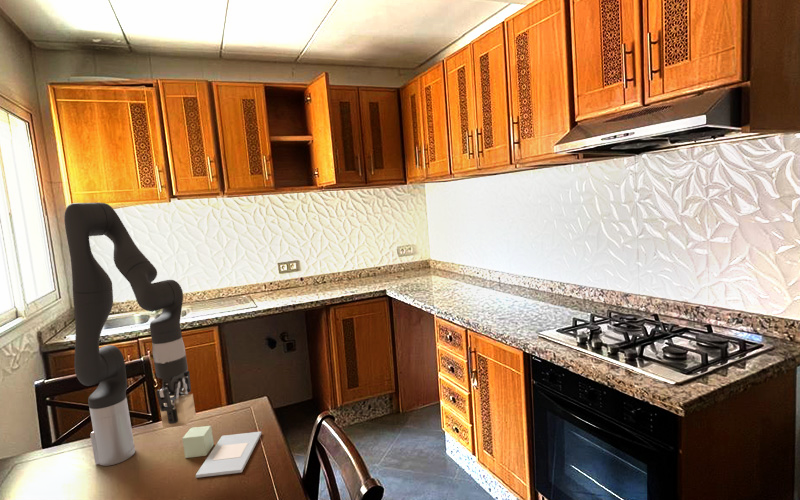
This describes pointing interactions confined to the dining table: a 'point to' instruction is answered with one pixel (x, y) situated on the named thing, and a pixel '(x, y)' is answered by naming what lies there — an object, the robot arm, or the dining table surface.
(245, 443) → the white rectangular board
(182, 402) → the maple block
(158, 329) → the robot arm
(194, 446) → the sage block
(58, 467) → the dining table surface
